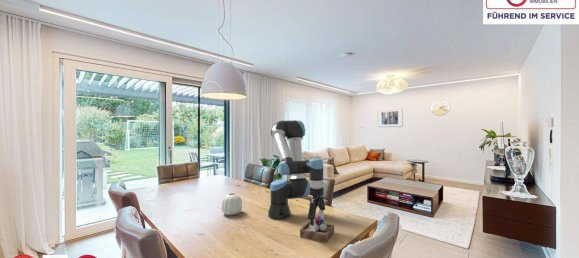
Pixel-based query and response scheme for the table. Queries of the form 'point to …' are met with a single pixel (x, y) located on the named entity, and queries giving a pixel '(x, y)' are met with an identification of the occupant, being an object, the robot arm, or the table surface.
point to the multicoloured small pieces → (320, 224)
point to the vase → (231, 204)
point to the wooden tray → (317, 233)
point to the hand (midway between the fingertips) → (317, 226)
